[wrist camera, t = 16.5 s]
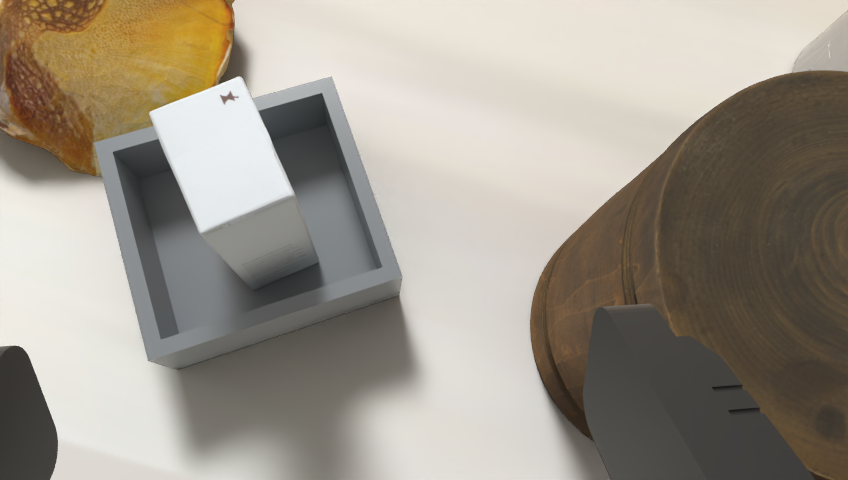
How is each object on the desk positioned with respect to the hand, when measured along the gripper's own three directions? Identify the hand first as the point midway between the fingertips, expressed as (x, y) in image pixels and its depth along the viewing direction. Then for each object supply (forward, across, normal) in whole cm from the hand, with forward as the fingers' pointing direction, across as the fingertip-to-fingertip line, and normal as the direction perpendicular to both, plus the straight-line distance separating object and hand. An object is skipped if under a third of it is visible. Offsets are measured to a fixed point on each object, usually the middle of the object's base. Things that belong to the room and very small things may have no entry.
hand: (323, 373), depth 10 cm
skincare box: (+27, +5, +12) cm, 30 cm away
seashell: (+37, +15, +4) cm, 40 cm away
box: (+28, +5, +13) cm, 31 cm away
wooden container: (+23, -17, +18) cm, 34 cm away
